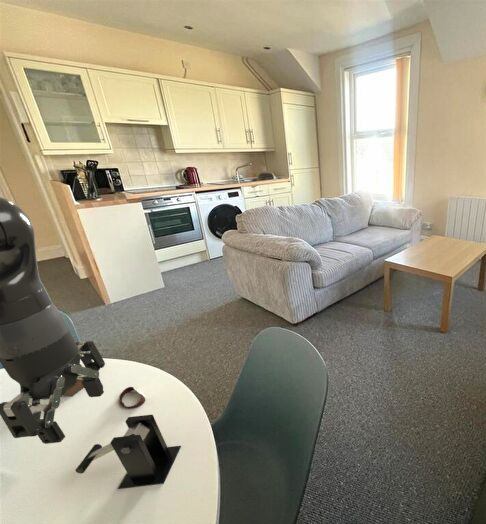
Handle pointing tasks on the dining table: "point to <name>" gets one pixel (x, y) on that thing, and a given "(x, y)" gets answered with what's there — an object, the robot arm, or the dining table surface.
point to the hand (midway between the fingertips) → (78, 416)
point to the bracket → (144, 454)
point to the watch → (130, 391)
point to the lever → (109, 447)
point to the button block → (75, 388)
